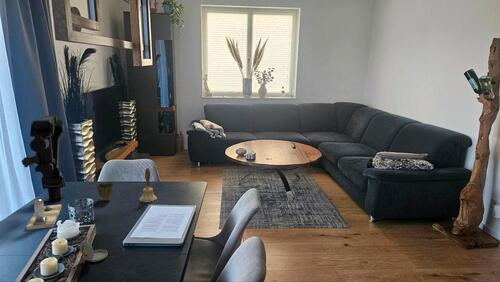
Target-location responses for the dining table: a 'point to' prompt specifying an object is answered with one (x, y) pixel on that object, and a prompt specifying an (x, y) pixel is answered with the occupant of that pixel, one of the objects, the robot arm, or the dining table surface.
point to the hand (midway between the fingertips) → (47, 183)
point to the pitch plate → (51, 215)
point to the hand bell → (147, 189)
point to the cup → (105, 190)
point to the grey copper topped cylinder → (39, 212)
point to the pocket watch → (91, 252)
